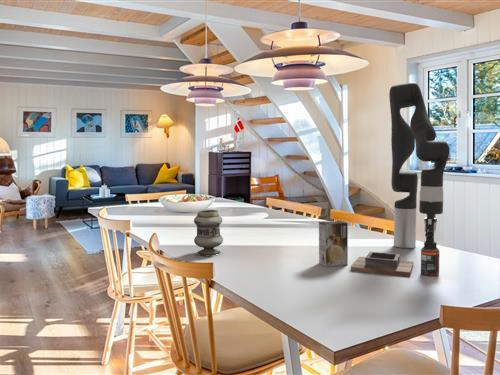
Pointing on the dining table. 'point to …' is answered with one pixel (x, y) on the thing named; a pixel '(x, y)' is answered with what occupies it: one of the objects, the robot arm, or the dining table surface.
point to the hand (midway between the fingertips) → (429, 246)
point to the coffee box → (333, 243)
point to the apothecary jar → (208, 231)
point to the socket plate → (383, 264)
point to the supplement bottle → (430, 260)
